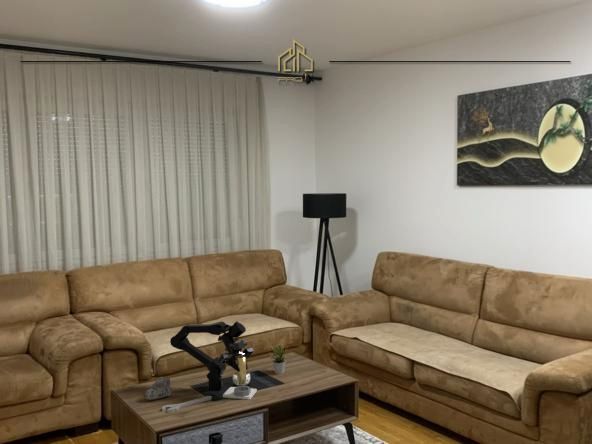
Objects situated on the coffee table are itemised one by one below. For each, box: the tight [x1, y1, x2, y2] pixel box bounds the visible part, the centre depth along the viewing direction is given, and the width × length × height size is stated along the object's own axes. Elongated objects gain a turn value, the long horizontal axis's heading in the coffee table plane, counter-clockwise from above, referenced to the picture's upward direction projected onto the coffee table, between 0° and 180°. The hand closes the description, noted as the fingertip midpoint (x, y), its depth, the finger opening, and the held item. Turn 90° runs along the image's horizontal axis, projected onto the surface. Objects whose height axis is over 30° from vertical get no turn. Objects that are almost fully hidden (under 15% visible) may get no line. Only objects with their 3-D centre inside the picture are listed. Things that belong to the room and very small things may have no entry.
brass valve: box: [236, 354, 247, 385], centre depth 282 cm, size 4×4×14 cm
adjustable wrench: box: [161, 395, 213, 413], centre depth 273 cm, size 25×6×2 cm, turn 123°
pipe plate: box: [222, 385, 258, 400], centre depth 285 cm, size 14×11×4 cm
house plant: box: [268, 342, 289, 375], centre depth 318 cm, size 14×14×16 cm
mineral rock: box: [145, 376, 173, 401], centre depth 283 cm, size 13×11×10 cm
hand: (243, 370), depth 281 cm, fingers closed on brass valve, 4 cm apart
